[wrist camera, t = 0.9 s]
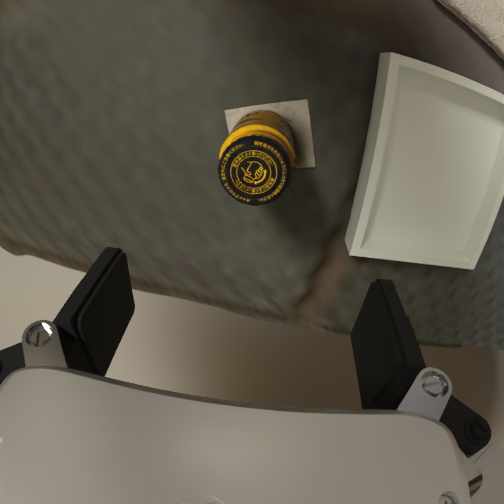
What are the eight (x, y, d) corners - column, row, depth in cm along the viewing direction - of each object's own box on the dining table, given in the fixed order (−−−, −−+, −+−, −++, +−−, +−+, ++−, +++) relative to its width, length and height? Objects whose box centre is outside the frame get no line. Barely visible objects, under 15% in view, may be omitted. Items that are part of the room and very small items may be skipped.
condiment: (224, 110, 31) (197, 134, 21) (307, 99, 30) (322, 117, 19) (237, 174, 35) (218, 227, 25) (315, 165, 33) (331, 215, 23)
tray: (379, 52, 26) (390, 52, 23) (509, 101, 25) (526, 106, 22) (344, 239, 38) (349, 255, 35) (463, 254, 37) (473, 269, 34)
